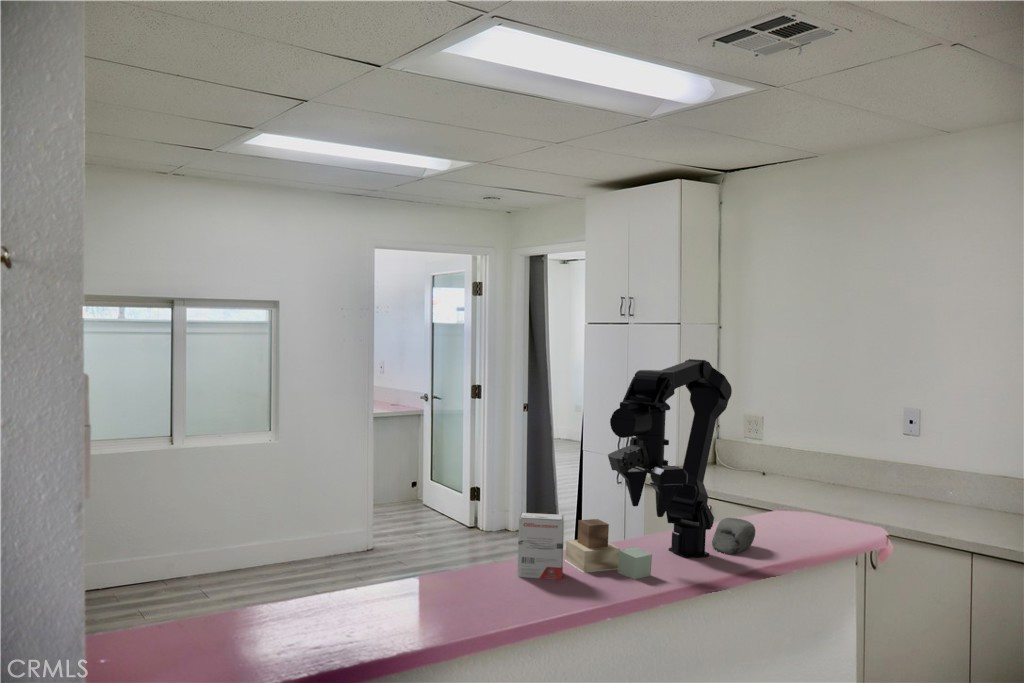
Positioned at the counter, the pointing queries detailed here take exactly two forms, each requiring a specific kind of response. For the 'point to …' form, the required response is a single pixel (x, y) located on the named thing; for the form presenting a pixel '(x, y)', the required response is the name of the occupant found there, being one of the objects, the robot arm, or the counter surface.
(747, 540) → the stone
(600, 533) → the walnut cube
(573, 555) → the birch base block
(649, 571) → the sage block
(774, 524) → the counter surface
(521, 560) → the ink box
